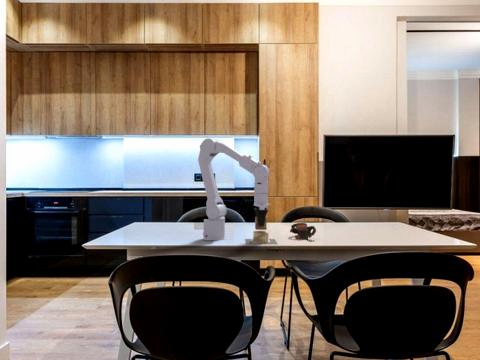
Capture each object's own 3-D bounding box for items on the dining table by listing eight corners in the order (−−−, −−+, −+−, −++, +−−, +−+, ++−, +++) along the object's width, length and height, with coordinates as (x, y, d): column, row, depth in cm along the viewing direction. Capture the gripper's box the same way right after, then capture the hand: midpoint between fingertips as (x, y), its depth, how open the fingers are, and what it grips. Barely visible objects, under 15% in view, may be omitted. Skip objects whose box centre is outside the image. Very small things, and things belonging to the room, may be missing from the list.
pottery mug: (288, 241, 182) (286, 223, 186) (295, 247, 190) (292, 230, 194) (315, 235, 179) (312, 218, 183) (320, 242, 186) (317, 225, 190)
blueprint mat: (245, 245, 169) (245, 243, 169) (244, 240, 182) (244, 238, 182) (277, 245, 169) (277, 244, 169) (274, 240, 182) (274, 238, 182)
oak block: (253, 242, 173) (254, 232, 173) (253, 239, 179) (253, 230, 179) (268, 242, 173) (268, 232, 173) (267, 239, 179) (267, 230, 179)
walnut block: (255, 229, 174) (255, 217, 174) (255, 228, 178) (255, 216, 178) (266, 229, 174) (266, 217, 174) (265, 228, 178) (265, 216, 178)
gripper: (272, 194, 169) (271, 227, 169) (268, 192, 183) (268, 223, 183) (254, 194, 168) (254, 227, 169) (252, 192, 183) (252, 223, 183)
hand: (260, 225), depth 176 cm, fingers closed on walnut block, 4 cm apart
